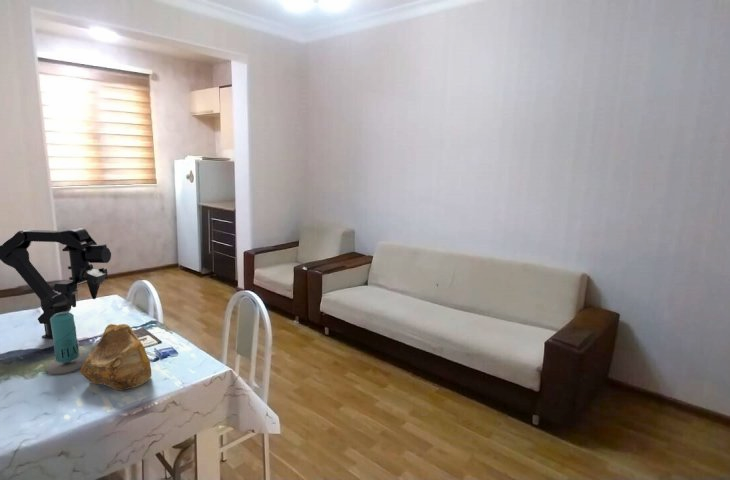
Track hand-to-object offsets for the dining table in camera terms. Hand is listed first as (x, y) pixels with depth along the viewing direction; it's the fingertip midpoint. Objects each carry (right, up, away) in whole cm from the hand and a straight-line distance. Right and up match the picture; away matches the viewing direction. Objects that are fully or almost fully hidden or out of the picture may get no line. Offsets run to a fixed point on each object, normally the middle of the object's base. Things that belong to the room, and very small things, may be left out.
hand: (84, 302), depth 157 cm
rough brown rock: (+29, -19, -29) cm, 45 cm away
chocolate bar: (+21, -14, 0) cm, 25 cm away
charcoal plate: (+9, -17, -21) cm, 29 cm away
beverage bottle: (+9, -16, -21) cm, 28 cm away
